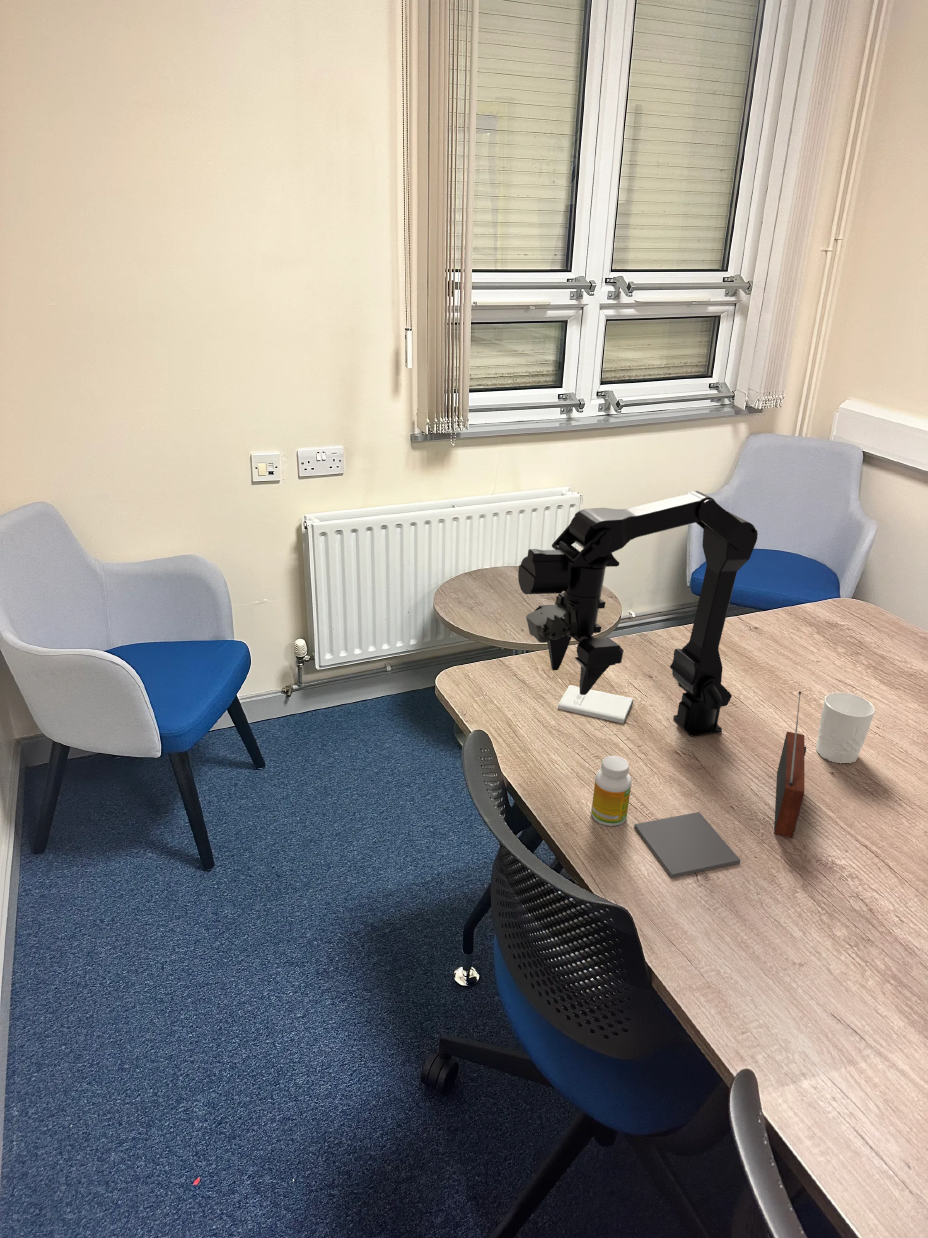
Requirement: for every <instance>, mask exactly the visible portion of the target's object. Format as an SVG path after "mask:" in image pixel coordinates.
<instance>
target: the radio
mask: <svg viewBox="0 0 928 1238" xmlns="http://www.w3.org/2000/svg"><path fill="white" fill-rule="evenodd" d="M801 695H802V691H798V704H797V712H796V713H797V714H796V722H795V731H794V732H792V731H786V733H785V736H784V741H783V746H782V750H781V755H780V759H779V764H778V766H777V771H776V787H775V802H774V803H775V805H774V806H775V807H774V822H773V823H774V824H773V825H774V827H773V834H774V835H777V836H782V837H786V838H790V839H793V838H794V835H795V832H796V827H797V823H798V821H799V815H800V813H801V812H800V811H801V809H802V808H801V807H802V803H803V800H804V796H805V756H806V753H807V746H805V743H806V742H805V734H803V733H798V725H799V714H800V713H799V712H800V702H801Z"/></svg>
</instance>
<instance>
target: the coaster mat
mask: <svg viewBox="0 0 928 1238" xmlns="http://www.w3.org/2000/svg"><path fill="white" fill-rule="evenodd" d="M633 825H634V827H633V828H634V829H635V830H636V832H637V833H638V835H639V837H640V838H641V839H642V840H643V841H644V843H645V844H646V845H647V846H648V848H649V849H650V851H651V853H652V854H653V855H654V856H655V858H656V859H657V860H658V862H659V863H660V864H661V866H662V867H663V868H664V870H665V871H666V873H667V874H668V875H669V877H670V878H676V877H677V878H678V877H681V876H686V875H690V874H696V873H700V872H704V871H708V870H714V869H718V868H722V867H723V868H724V867H728V866H729V867H730V866H733V865H737V864H740V863H741V859H740V857H739V856H738V855H737V854H736V853H735V852H734V851H733V849H732V848H731V847H730V846H729V845H728V844H727V842H726V841H725V840H724V839H723V838H722V836H720V834H719V833H718V832H717V831H716V830H715V829H714V828H713V826H712V825H711V824H710V823H709V822H708V820H707V819H706V818H705V817H704V816H703V815H702V813H701V812H700V811H698V812H691V813H686V814H681V815H677V816H676V815H675V816H671V817H664V818H660V819H655V820H649V821H644V822H638V823H635V824H633Z"/></svg>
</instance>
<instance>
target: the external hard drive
mask: <svg viewBox="0 0 928 1238" xmlns="http://www.w3.org/2000/svg"><path fill="white" fill-rule="evenodd" d="M633 703H634V698H632V697H628V696H622V695H618V694H613V693H609V692H605V691H604V692H603V691H600V690H595V689H592V688H591V689H590V690H589V692H588V693H587V694H586V695H581V694H580V686H576V685H571V684H570V685H568V686H567V689H566V690H565V692H564V694H563V696H562V697H561V699H560V701H559V702H558V705H557V709H559V710H561V711H562V710H563V711H567V712H571V713H575V714H579V715H580V714H581V715H584V716H589V717H593V718H598V719H602V720H607V721H610V722H614V723H618V724H625V722H626V720H627V717H628V714H629V712H630V710H631V708H632V706H633Z"/></svg>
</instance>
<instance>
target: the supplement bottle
mask: <svg viewBox="0 0 928 1238" xmlns="http://www.w3.org/2000/svg"><path fill="white" fill-rule="evenodd" d="M629 768H630V764H629V762H628V760H627V759H625V758H624V757H621V756H619V755H608V756H605V757H604V758H603V759H602V761H601V766H600V769H599V770H598V771H597V772H596V774H595V778H594V785H593V793H592V795H593V796H592V802H591V809H590V813H591V816H592V818H593V819H594V820H595V821H596V823H599V824H601V825H603V826H610V827H615V826H620V825H622V824H623V823H625V822H626V820H627V817H628V809H629V803H630V797H631V790H632V789H631V788H632V781H633V780H632V777H631V775H630V774H629Z"/></svg>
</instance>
